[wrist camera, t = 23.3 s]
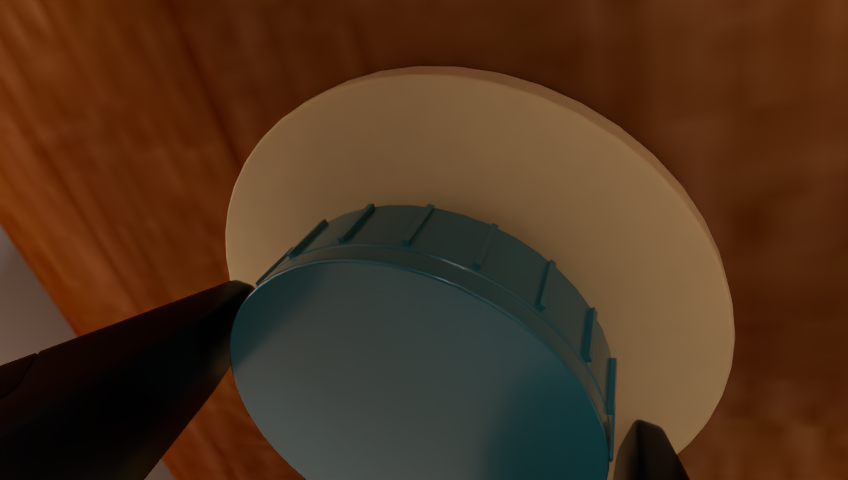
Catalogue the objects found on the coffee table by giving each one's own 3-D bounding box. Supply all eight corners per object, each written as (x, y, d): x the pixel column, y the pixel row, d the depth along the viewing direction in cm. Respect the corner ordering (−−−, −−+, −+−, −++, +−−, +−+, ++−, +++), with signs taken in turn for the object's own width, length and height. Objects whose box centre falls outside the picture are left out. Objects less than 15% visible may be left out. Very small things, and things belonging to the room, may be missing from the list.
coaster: (616, 532, 13) (616, 557, 12) (255, 390, 15) (242, 406, 14) (866, 152, 7) (883, 170, 6) (219, 8, 9) (195, 14, 8)
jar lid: (276, 153, 9) (209, 197, 7) (684, 278, 7) (695, 360, 6) (281, 403, 12) (237, 463, 11) (553, 514, 11) (541, 598, 10)
